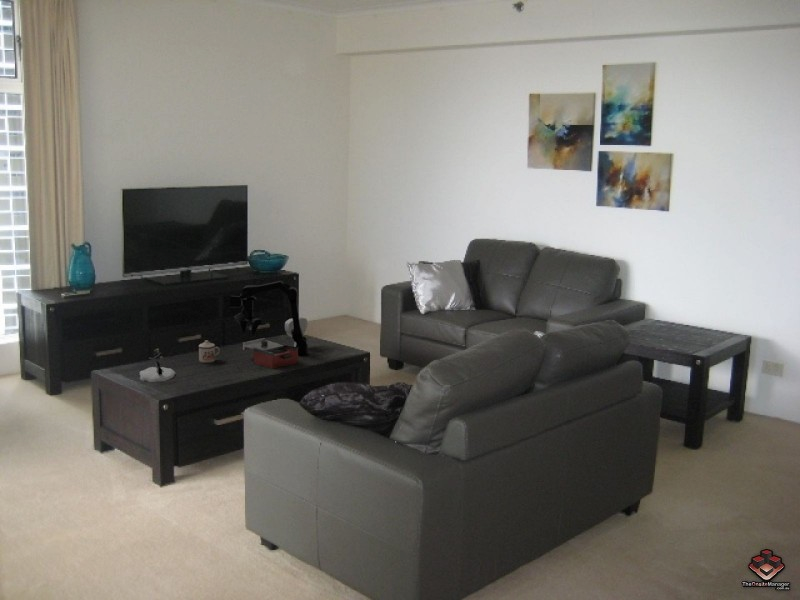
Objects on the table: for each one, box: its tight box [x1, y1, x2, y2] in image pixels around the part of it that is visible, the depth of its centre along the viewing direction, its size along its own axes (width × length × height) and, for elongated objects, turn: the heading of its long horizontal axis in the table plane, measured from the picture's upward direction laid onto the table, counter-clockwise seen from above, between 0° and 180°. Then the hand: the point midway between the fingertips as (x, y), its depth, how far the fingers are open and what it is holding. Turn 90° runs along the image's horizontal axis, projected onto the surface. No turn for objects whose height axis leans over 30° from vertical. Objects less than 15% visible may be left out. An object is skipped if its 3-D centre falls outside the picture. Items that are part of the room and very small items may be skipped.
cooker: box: [253, 342, 299, 370], centre depth 488 cm, size 19×18×9 cm
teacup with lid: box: [198, 340, 221, 364], centre depth 489 cm, size 12×9×12 cm
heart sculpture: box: [284, 316, 308, 347], centre depth 520 cm, size 16×5×18 cm, turn 142°
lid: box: [242, 337, 285, 351], centre depth 494 cm, size 16×18×5 cm
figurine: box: [138, 348, 176, 383], centre depth 456 cm, size 20×18×16 cm
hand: (248, 334), depth 502 cm, fingers open, 8 cm apart
